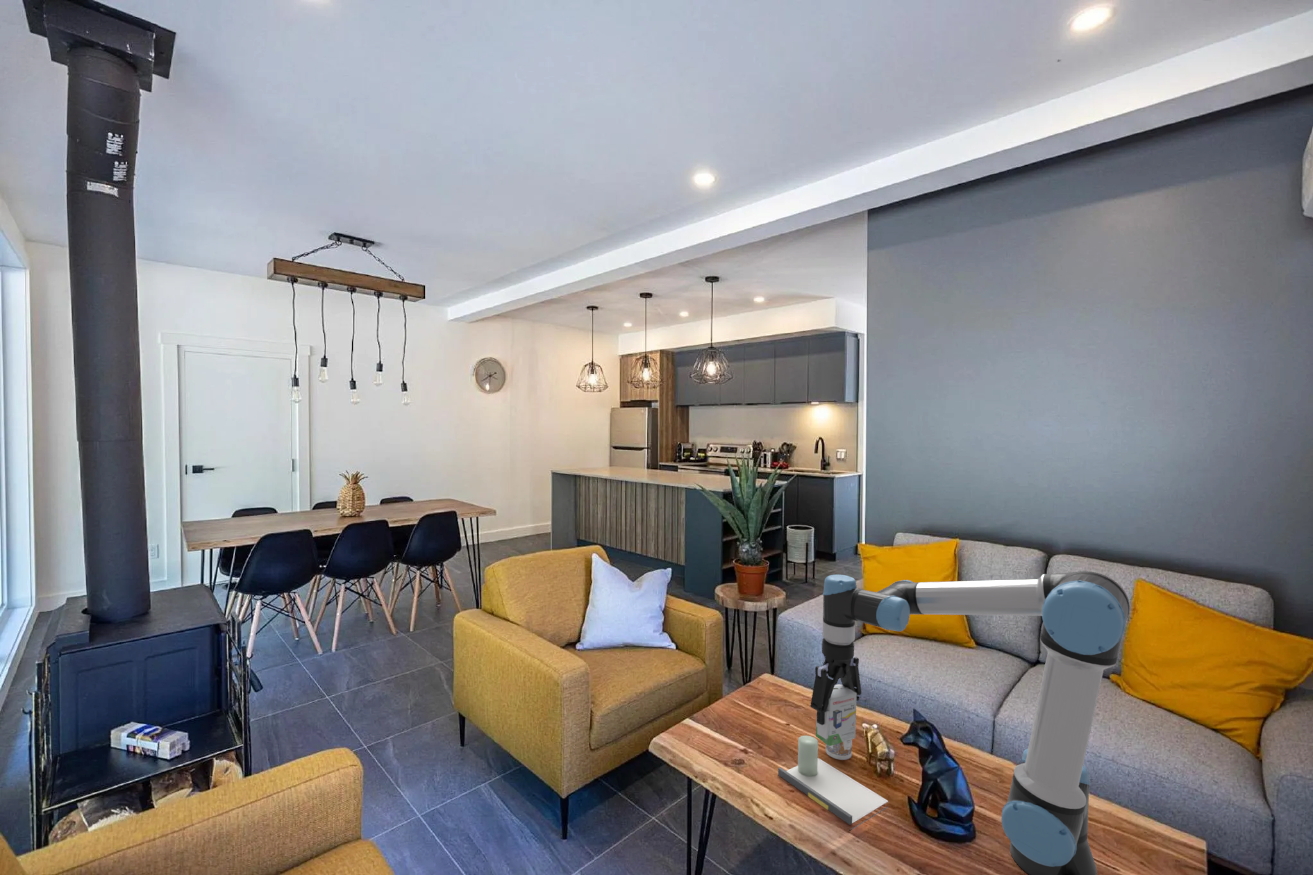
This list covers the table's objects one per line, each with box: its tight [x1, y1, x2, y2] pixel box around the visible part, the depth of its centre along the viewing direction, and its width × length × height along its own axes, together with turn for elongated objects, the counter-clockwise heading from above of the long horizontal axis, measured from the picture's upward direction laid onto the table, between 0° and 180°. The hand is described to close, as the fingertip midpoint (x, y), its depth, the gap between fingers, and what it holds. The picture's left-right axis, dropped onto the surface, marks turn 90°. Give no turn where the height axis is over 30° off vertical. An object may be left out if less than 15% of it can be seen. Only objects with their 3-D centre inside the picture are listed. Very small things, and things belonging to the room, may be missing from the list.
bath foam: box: [825, 683, 853, 761], centre depth 159 cm, size 7×7×20 cm
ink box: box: [815, 684, 858, 746], centre depth 140 cm, size 9×5×12 cm, turn 115°
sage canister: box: [797, 735, 819, 777], centre depth 150 cm, size 5×5×8 cm
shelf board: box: [777, 757, 889, 832], centre depth 143 cm, size 22×15×3 cm
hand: (835, 730), depth 141 cm, fingers closed on ink box, 9 cm apart
